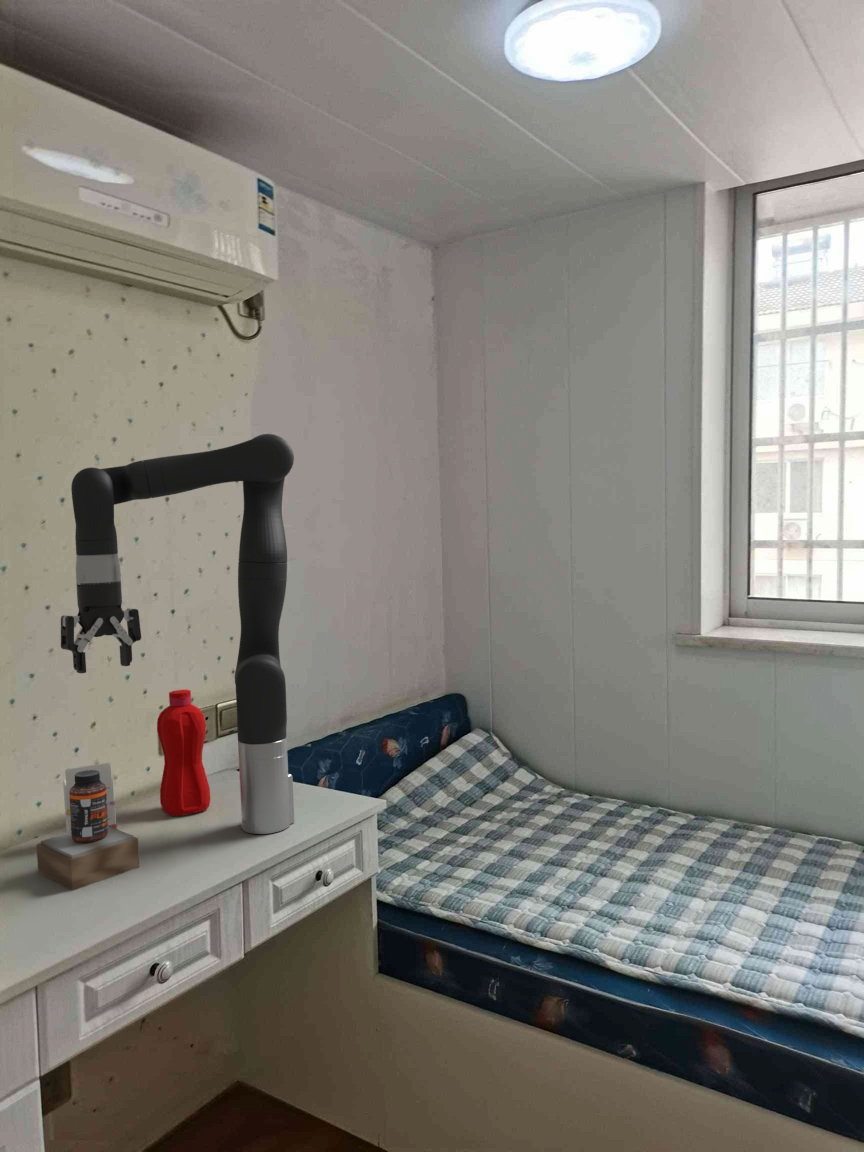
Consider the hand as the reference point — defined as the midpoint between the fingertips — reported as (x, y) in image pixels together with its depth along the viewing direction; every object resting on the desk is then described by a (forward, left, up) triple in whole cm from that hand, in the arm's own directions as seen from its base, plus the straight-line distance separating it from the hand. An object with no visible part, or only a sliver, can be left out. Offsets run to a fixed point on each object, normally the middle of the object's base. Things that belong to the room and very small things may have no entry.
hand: (103, 669), depth 159 cm
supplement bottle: (+7, +6, -28) cm, 29 cm away
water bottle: (-21, -9, -33) cm, 40 cm away
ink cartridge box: (0, -8, -33) cm, 34 cm away
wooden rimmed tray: (+8, +6, -33) cm, 35 cm away
